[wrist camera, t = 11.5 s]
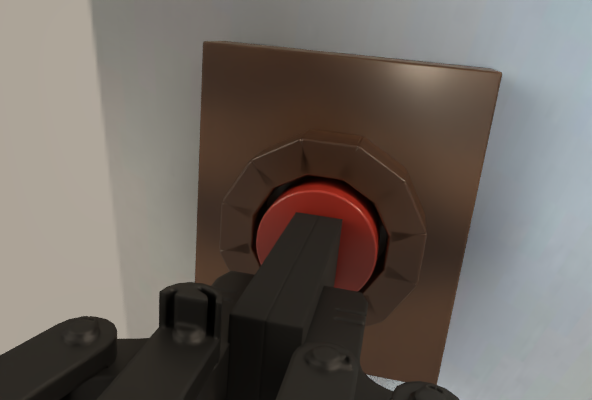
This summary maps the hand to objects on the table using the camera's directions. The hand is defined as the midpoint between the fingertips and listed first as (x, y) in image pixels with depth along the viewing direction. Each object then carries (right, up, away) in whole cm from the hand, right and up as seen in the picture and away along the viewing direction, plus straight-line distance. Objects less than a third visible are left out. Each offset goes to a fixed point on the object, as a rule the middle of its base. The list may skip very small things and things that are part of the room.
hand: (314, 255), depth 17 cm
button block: (+1, +1, +4) cm, 5 cm away
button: (0, +1, +2) cm, 2 cm away
